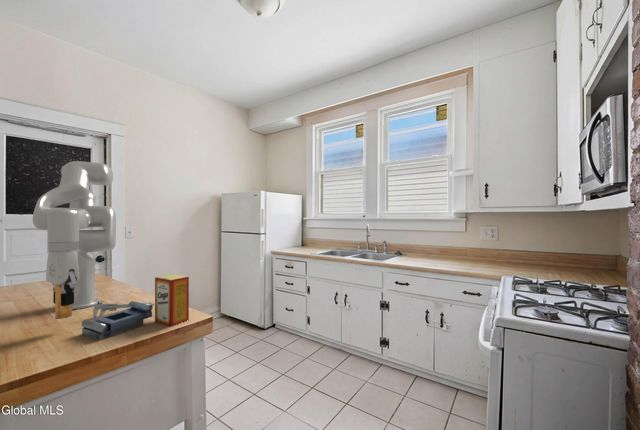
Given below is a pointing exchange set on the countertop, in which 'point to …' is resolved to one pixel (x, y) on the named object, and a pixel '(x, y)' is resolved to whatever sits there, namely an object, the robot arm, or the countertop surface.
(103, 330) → the grey bench vise
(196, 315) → the countertop surface
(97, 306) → the caliper
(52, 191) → the robot arm
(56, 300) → the gold tall block
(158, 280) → the baking soda box
